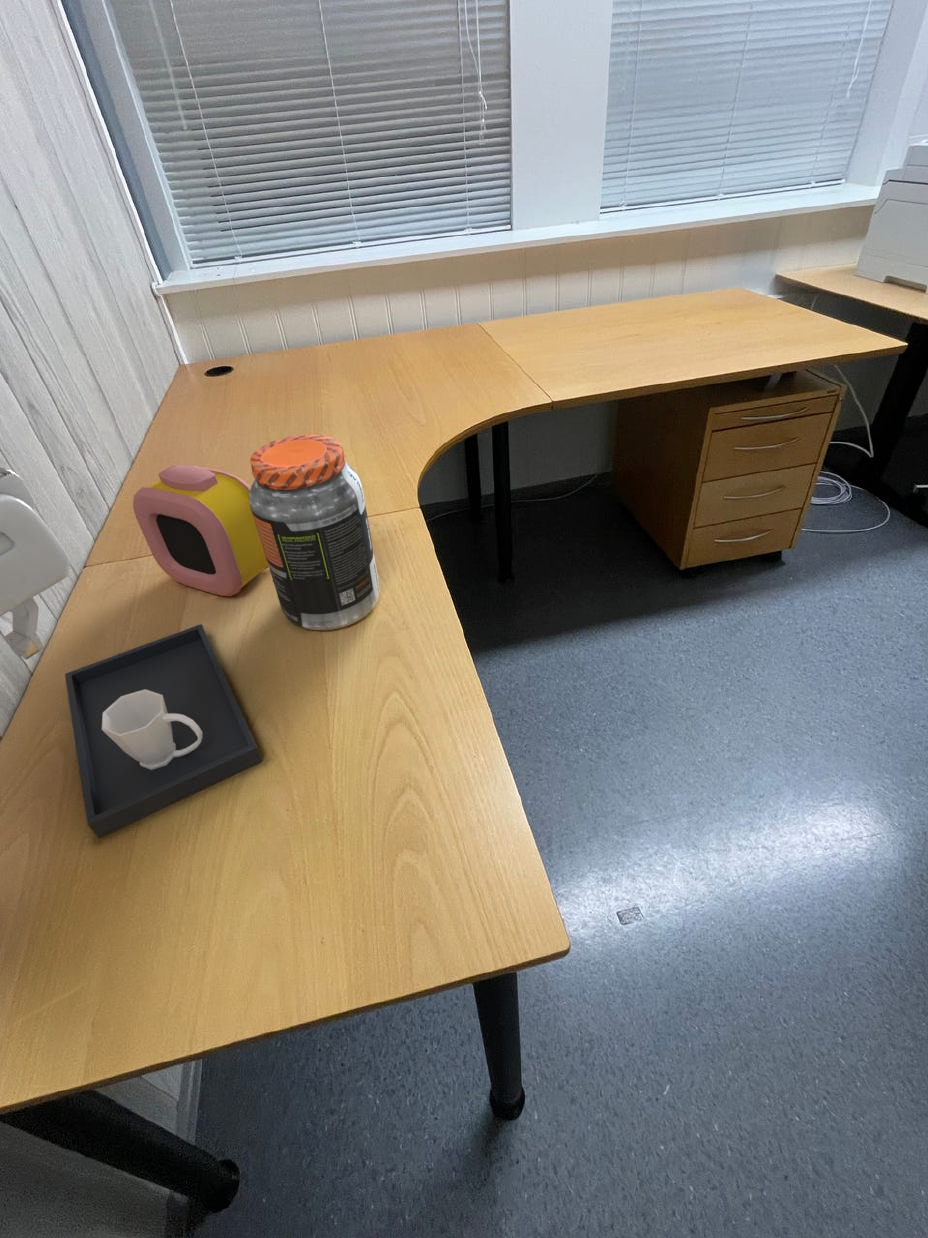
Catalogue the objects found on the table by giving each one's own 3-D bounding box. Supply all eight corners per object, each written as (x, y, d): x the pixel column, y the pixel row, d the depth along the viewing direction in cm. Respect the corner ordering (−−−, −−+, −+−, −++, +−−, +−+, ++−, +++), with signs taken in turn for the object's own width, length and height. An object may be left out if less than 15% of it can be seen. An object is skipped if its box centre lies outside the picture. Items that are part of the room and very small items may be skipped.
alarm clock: (160, 581, 104) (113, 478, 91) (206, 548, 111) (168, 449, 99) (243, 607, 97) (206, 500, 85) (286, 570, 105) (257, 467, 92)
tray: (263, 761, 73) (256, 747, 72) (98, 838, 66) (87, 825, 64) (207, 637, 92) (201, 623, 90) (74, 687, 85) (64, 673, 83)
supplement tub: (393, 579, 101) (372, 431, 85) (361, 641, 90) (329, 483, 73) (307, 570, 104) (270, 425, 88) (264, 629, 93) (213, 474, 76)
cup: (141, 733, 77) (115, 689, 71) (219, 731, 76) (199, 687, 71) (117, 780, 71) (87, 736, 66) (201, 777, 71) (177, 733, 66)
